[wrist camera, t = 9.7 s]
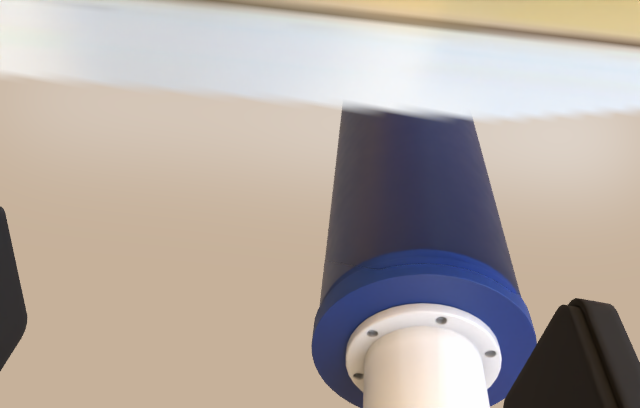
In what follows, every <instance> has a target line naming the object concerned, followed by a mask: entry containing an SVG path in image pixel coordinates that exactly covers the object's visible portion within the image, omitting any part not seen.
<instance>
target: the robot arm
mask: <svg viewBox="0 0 640 408" xmlns="http://www.w3.org/2000/svg"><path fill="white" fill-rule="evenodd" d="M26 324H27V313H26V308H25V304H24V299H23V294H22V289H21V285H20V280H19V276H18V272H17V266H16V261H15V257H14V252H13V247H12V243H11V238H10V234H9V229H8V224H7V219H6V215H5V211H4V209H3V208H2V207H0V371H1V369H2V368H3V366H4V364H5V363H6V361H7V360H8V358H9V357H10V355H11V353H12V352H13V350H14V349H15V347H16V346H17V344H18V342H19V341H20V339H21V337H22V336H23V333H24V331H25V329H26ZM501 361H502V358H501V352H500V347H499V344H498V341H497V338H496V336H495V335H494V333H493V332H492V330H491V329H490V328H489V327H488V326H487V325H486V324H485V323H484V322H482V321H481V320H480V319H479V318H477V317H475V316H473V315H472V314H470V313H468V312H465V311H463V310H460V309H457V308H455V307H450V306H445V305H441V304H429V303H417V304H406V305H401V306H396V307H392V308H389V309H386V310H383V311H381V312H378V313H376V314H375V315H373V316H371V317H369V318H367V319H366V320H365V321H364V322H363V323H361V324H360V325H359V326H358V327H357V328H356V329H355V331H354V332H353V333H352V334H351V336H350V339H349V341H348V343H347V349H346V368H347V371H348V375H349V376H350V378H351V379H352V381H353V383H354V384H355V385H356V386H357V387H358V388H359V389H360V390H361V391H362V392H363V408H490V404H489V398H488V393H487V389H488V388H489V387H490V386H491V385H492V384H493V383H494V381H495V380H496V378H497V377H498V374H499V372H500V369H501ZM503 408H640V362H639V360H638V358H637V356H636V354H635V351H634V349H633V347H632V344H631V342H630V340H629V338H628V335H627V333H626V331H625V329H624V326H623V324H622V322H621V320H620V317H619V315H618V313H617V311H616V309H615V308H614V307H613V306H612V305H611V304H606V303H601V302H596V301H589V300H584V299H577V298H575V299H574V300H572V301H571V302H570V303H569V304H568V305H561V306H560V307H559V308H558V309H557V311H556V312H555V314H554V316H553V318H552V319H551V321H550V323H549V324H548V326H547V328H546V329H545V331H544V333H543V335H542V336H541V338H540V340H539V341H538V343H537V345H536V347H535V348H534V350H533V352H532V353H531V355H530V357H529V358H528V360H527V362H526V364H525V365H524V367H523V369H522V370H521V372H520V374H519V375H518V377H517V379H516V381H515V382H514V384H513V386H512V387H511V389H510V391H509V392H508V394H507V396H506V398H505V401H504V406H503Z"/></svg>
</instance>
